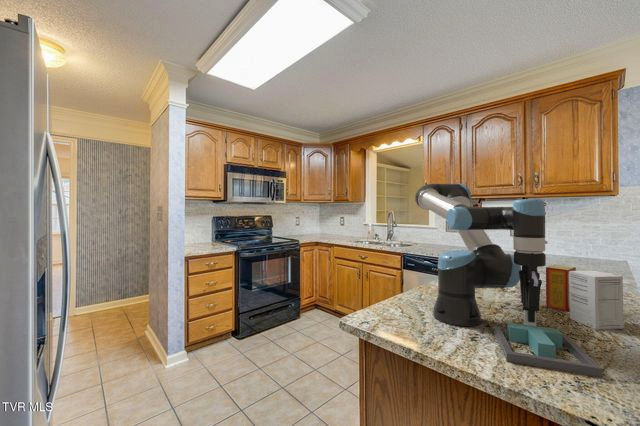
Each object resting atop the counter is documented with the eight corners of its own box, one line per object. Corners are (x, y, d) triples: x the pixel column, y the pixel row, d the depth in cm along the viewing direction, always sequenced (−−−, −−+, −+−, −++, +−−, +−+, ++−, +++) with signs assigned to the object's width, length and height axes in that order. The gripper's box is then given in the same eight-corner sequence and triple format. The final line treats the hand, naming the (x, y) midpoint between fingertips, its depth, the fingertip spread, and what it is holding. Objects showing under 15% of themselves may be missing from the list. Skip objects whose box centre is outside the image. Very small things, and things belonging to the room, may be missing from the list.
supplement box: (595, 318, 97) (594, 270, 97) (625, 329, 88) (624, 275, 88) (568, 318, 97) (568, 270, 97) (595, 329, 88) (595, 276, 88)
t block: (518, 355, 72) (517, 340, 72) (507, 336, 84) (507, 322, 84) (577, 365, 67) (577, 348, 67) (557, 343, 79) (557, 329, 79)
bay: (506, 361, 69) (506, 353, 69) (493, 332, 86) (493, 325, 86) (602, 377, 62) (602, 368, 62) (567, 342, 79) (567, 335, 79)
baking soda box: (555, 302, 114) (554, 263, 114) (576, 307, 109) (575, 266, 109) (546, 307, 109) (545, 266, 109) (567, 312, 103) (567, 269, 103)
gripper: (553, 255, 75) (554, 343, 75) (537, 249, 87) (538, 325, 87) (519, 253, 78) (520, 338, 78) (509, 248, 90) (509, 322, 89)
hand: (530, 331), depth 82 cm, fingers closed
